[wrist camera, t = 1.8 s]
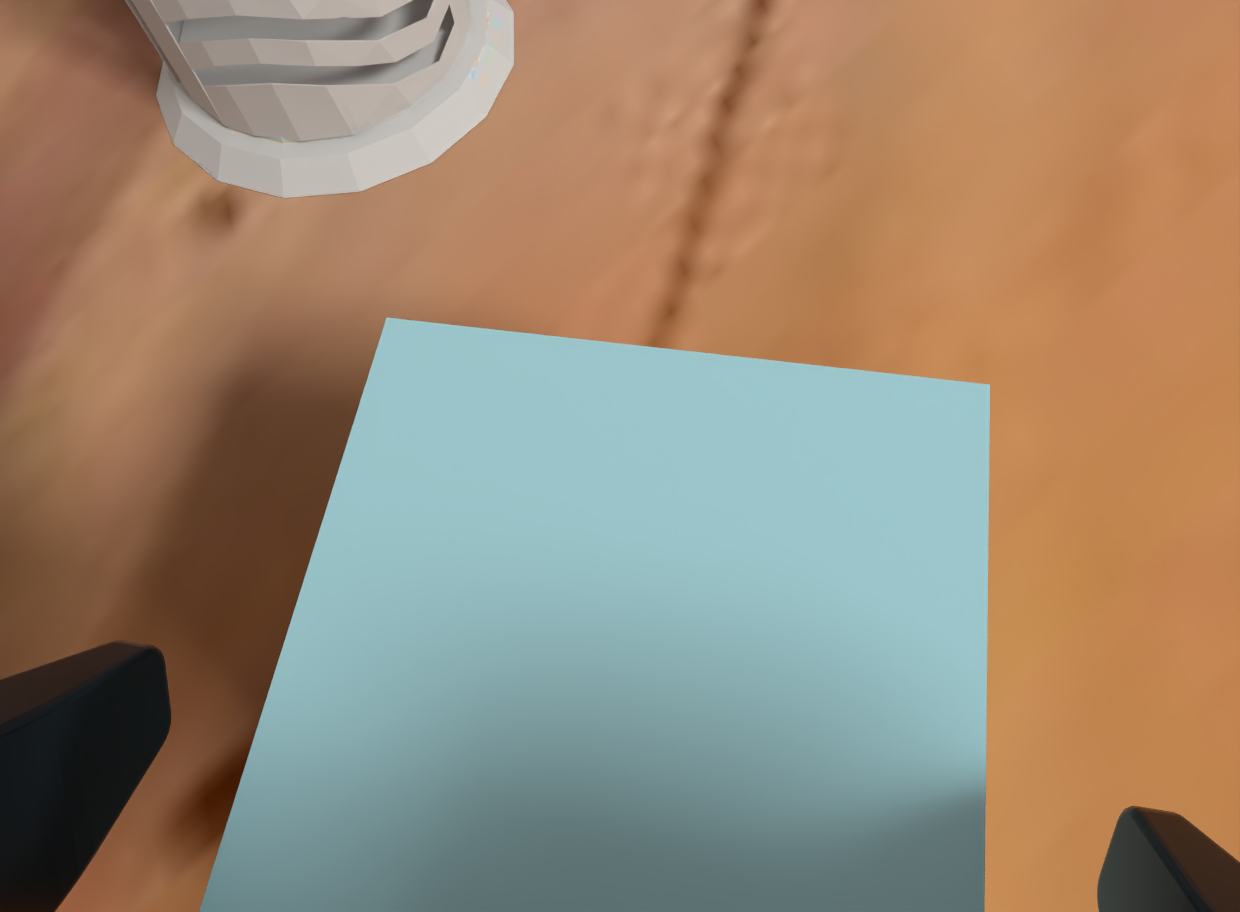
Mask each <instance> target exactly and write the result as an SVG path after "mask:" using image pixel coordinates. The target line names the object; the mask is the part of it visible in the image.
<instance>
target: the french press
mask: <svg viewBox="0 0 1240 912" xmlns="http://www.w3.org/2000/svg"><path fill="white" fill-rule="evenodd" d="M125 2H126V3H127V5H128V6H129V8H130V9H131V11H132V13H133V14H134V16H135V17H136V19H137V20H138V22H139V24H140V25H141V27H142V28H143V30H144V31H145V33H146V35H147V36H148V38H149V39H150V41H151V42H152V44H153V46H154V47H155V49H156V50H157V52H158V53H159V55H160V57H161V58H162V60H163V65H162V69H161V74H160V79H159V84H158V88H157V93H156V97H157V100H158V103H159V106H160V109H161V112H162V114H163V117H164V120H165V123H166V126H167V129H168V131H169V134H170V137H171V140H172V143H173V145H175V146H176V147H177V148H178V149H179V150H181V151H182V152H183V153H184V154H185V155H187V156H188V157H189V158H190V159H192V160H193V161H194V162H195V163H196V164H198V165H199V166H200V167H201V168H203V169H204V170H205V171H206V172H207V173H209V174H210V175H211V176H212V177H214V178H215V179H216V180H217V181H220V182H224V183H228V184H232V185H235V186H239V187H243V188H247V189H251V190H255V191H259V192H262V193H266V194H270V195H274V196H278V197H282V198H290V197H302V196H314V195H326V194H338V193H350V192H360V191H363V190H365V189H368V188H370V187H373V186H375V185H378V184H380V183H383V182H385V181H388V180H390V179H393V178H395V177H397V176H400V175H402V174H405V173H407V172H410V171H412V170H415V169H417V168H420V167H422V166H425V165H427V164H430V163H432V162H433V161H434V160H435V159H437V158H438V157H439V156H440V155H441V154H443V153H444V152H445V151H446V150H447V149H449V148H450V147H451V146H452V145H453V144H455V143H456V142H457V141H458V140H459V139H460V138H462V137H463V136H464V135H465V134H466V133H468V132H469V131H470V130H471V129H472V128H474V127H475V126H476V125H477V124H478V123H480V122H481V121H482V120H483V119H484V118H485V117H486V116H487V114H488V112H489V110H490V108H491V106H492V105H493V103H494V101H495V99H496V97H497V95H498V93H499V91H500V90H501V88H502V86H503V84H504V82H505V80H506V78H507V76H508V75H509V73H510V71H511V69H512V67H513V65H514V12H513V10H512V9H511V7H510V6H509V4H508V2H507V1H506V0H125Z"/></svg>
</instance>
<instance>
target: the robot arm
mask: <svg viewBox="0 0 1240 912" xmlns="http://www.w3.org/2000/svg"><path fill="white" fill-rule="evenodd" d="M170 724H171V708H170V700H169V692H168V683H167V675H166V666H165V660H164V656H163V654H162V652H161V651H160V650H159V649H158V648H157V647H155V646H153V645H147V644H141V643H135V642H129V641H114V642H110V643H107V644H104V645H101V646H98V647H95V648H93V649H90V650H87V651H84V652H81V653H78V654H75V655H72V656H69V657H66V658H63V659H60V660H57V661H54V662H51V663H48V664H45V665H42V666H40V667H37V668H34V669H31V670H28V671H25V672H22V673H19V674H16V675H13V676H10V677H7V678H4V679H1V680H0V912H55V911H56V910H57V908H58V907H59V906H60V904H61V903H62V902H63V900H64V899H65V898H66V896H67V895H68V893H69V892H70V891H71V889H72V888H73V886H74V885H75V884H76V882H77V881H78V879H79V878H80V877H81V875H82V874H83V872H84V870H85V869H86V867H87V866H88V864H89V863H90V861H91V860H92V858H93V857H94V855H95V854H96V852H97V851H98V849H99V847H100V846H101V844H102V842H103V841H104V839H105V838H106V836H107V834H108V833H109V831H110V830H111V828H112V826H113V825H114V823H115V821H116V820H117V818H118V817H119V815H120V813H121V812H122V810H123V808H124V807H125V805H126V804H127V802H128V800H129V799H130V797H131V795H132V794H133V792H134V791H135V789H136V787H137V786H138V784H139V783H140V781H141V779H142V778H143V776H144V774H145V773H146V771H147V770H148V768H149V766H150V765H151V763H152V761H153V760H154V758H155V757H156V755H157V753H158V752H159V750H160V748H161V747H162V745H163V743H164V742H165V740H166V737H167V735H168V732H169V728H170ZM1097 899H1098V908H1099V912H1240V862H1239V861H1238V860H1236V859H1235V858H1234V857H1233V856H1231V855H1230V854H1229V853H1228V852H1226V851H1225V850H1224V849H1223V848H1221V847H1220V846H1219V845H1218V844H1216V843H1215V842H1214V841H1213V840H1211V839H1210V838H1209V837H1208V836H1206V835H1205V834H1204V833H1203V832H1201V831H1200V830H1199V829H1198V828H1196V827H1195V826H1194V825H1193V824H1191V823H1190V822H1189V821H1188V820H1186V819H1185V818H1184V817H1182V816H1181V815H1179V814H1177V813H1174V812H1170V811H1163V810H1157V809H1151V808H1145V807H1139V806H1131V807H1128V808H1126V809H1124V811H1123V812H1122V813H1121V815H1120V816H1119V819H1118V821H1117V824H1116V827H1115V830H1114V833H1113V836H1112V839H1111V842H1110V845H1109V848H1108V851H1107V854H1106V857H1105V860H1104V864H1103V867H1102V870H1101V873H1100V876H1099V880H1098V888H1097Z"/></svg>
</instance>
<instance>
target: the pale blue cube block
mask: <svg viewBox="0 0 1240 912" xmlns="http://www.w3.org/2000/svg"><path fill="white" fill-rule="evenodd" d="M989 419H990V385H988V384H979V383H970V382H961V381H952V380H943V379H934V378H925V377H916V376H907V375H898V374H889V373H880V372H871V371H862V370H853V369H845V368H836V367H827V366H818V365H809V364H800V363H791V362H782V361H773V360H764V359H755V358H746V357H737V356H728V355H719V354H710V353H701V352H692V351H683V350H674V349H665V348H656V347H647V346H638V345H629V344H620V343H611V342H602V341H593V340H584V339H575V338H566V337H557V336H548V335H539V334H530V333H521V332H512V331H503V330H494V329H485V328H476V327H467V326H458V325H449V324H440V323H431V322H422V321H413V320H404V319H395V318H386V321H385V325H384V328H383V331H382V334H381V337H380V340H379V344H378V347H377V350H376V353H375V356H374V359H373V363H372V366H371V369H370V372H369V375H368V378H367V382H366V385H365V388H364V391H363V394H362V397H361V401H360V404H359V407H358V410H357V413H356V416H355V420H354V423H353V426H352V429H351V432H350V435H349V439H348V442H347V445H346V448H345V451H344V454H343V458H342V461H341V464H340V467H339V470H338V473H337V477H336V480H335V483H334V486H333V489H332V492H331V496H330V499H329V502H328V505H327V508H326V511H325V515H324V518H323V521H322V524H321V527H320V530H319V534H318V537H317V540H316V543H315V546H314V549H313V553H312V556H311V559H310V562H309V565H308V568H307V572H306V575H305V578H304V581H303V584H302V587H301V591H300V594H299V597H298V600H297V603H296V606H295V610H294V613H293V616H292V619H291V622H290V625H289V629H288V632H287V635H286V638H285V641H284V644H283V648H282V651H281V654H280V657H279V660H278V663H277V667H276V670H275V673H274V676H273V679H272V682H271V686H270V689H269V692H268V695H267V698H266V701H265V705H264V708H263V711H262V714H261V717H260V720H259V724H258V727H257V730H256V733H255V736H254V739H253V743H252V746H251V749H250V752H249V755H248V758H247V762H246V765H245V768H244V771H243V774H242V777H241V781H240V784H239V787H238V790H237V793H236V796H235V800H234V803H233V806H232V809H231V812H230V815H229V819H228V822H227V825H226V828H225V831H224V834H223V838H222V841H221V844H220V847H219V850H218V853H217V857H216V860H215V863H214V866H213V869H212V872H211V876H210V879H209V882H208V885H207V888H206V891H205V895H204V898H203V901H202V904H201V907H200V910H199V912H984V894H985V799H986V704H987V609H988V514H989Z"/></svg>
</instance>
